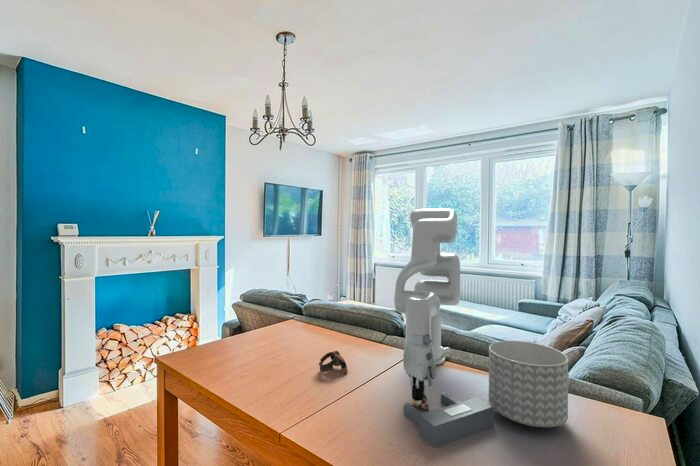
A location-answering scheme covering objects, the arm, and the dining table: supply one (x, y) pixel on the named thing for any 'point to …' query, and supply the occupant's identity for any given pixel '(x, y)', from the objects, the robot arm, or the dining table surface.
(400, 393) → the dining table surface
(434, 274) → the robot arm
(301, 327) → the dining table surface
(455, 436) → the dock
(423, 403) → the composite cable
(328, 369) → the pottery mug
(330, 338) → the dining table surface
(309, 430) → the dining table surface
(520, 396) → the planter
